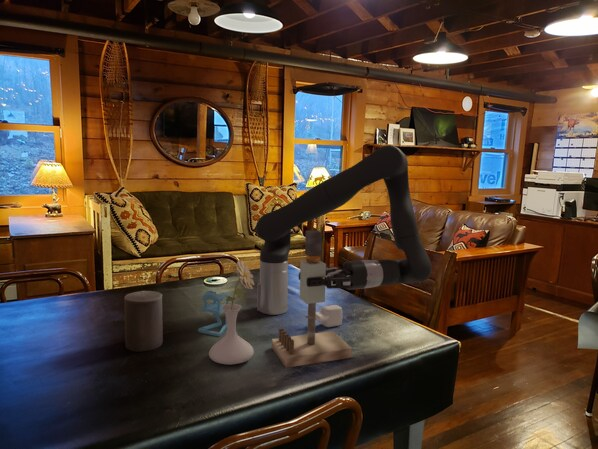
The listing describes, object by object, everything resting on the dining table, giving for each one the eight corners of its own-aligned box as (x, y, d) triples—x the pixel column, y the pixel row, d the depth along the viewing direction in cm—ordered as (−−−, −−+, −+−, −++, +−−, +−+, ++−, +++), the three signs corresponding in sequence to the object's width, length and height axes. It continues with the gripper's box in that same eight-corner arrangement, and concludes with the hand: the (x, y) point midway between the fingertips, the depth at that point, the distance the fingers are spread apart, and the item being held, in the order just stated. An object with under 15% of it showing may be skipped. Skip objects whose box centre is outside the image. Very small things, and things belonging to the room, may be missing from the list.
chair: (235, 327, 135) (235, 288, 133) (219, 336, 127) (219, 296, 125) (214, 322, 138) (214, 285, 136) (197, 332, 130) (197, 292, 129)
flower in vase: (234, 373, 106) (233, 271, 102) (199, 361, 112) (197, 264, 108) (266, 353, 117) (267, 260, 113) (233, 343, 123) (232, 254, 119)
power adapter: (311, 331, 132) (311, 313, 131) (303, 326, 136) (304, 307, 135) (343, 326, 137) (344, 308, 136) (335, 320, 141) (336, 303, 140)
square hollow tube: (306, 303, 113) (307, 265, 111) (299, 297, 117) (300, 260, 116) (324, 301, 114) (325, 263, 113) (317, 296, 119) (318, 259, 118)
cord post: (286, 367, 109) (287, 237, 104) (271, 347, 121) (272, 229, 116) (351, 357, 116) (356, 234, 111) (332, 339, 127) (335, 226, 122)
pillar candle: (127, 354, 115) (126, 298, 113) (123, 340, 123) (121, 288, 121) (166, 348, 119) (165, 294, 117) (159, 335, 128) (158, 284, 126)
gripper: (350, 255, 126) (293, 258, 120) (376, 267, 113) (314, 272, 107) (349, 280, 127) (293, 285, 121) (374, 295, 114) (313, 302, 108)
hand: (303, 279), depth 114 cm, fingers closed on square hollow tube, 5 cm apart
